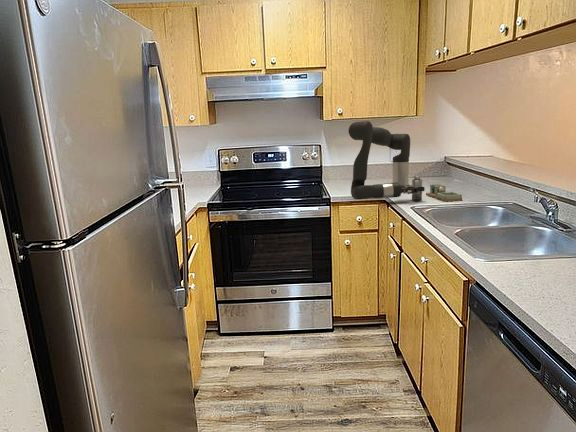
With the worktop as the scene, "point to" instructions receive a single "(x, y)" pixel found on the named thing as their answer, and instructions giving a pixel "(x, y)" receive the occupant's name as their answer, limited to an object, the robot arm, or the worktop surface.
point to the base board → (441, 198)
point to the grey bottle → (418, 196)
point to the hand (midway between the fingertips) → (421, 188)
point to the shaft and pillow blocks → (437, 188)
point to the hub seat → (449, 195)
